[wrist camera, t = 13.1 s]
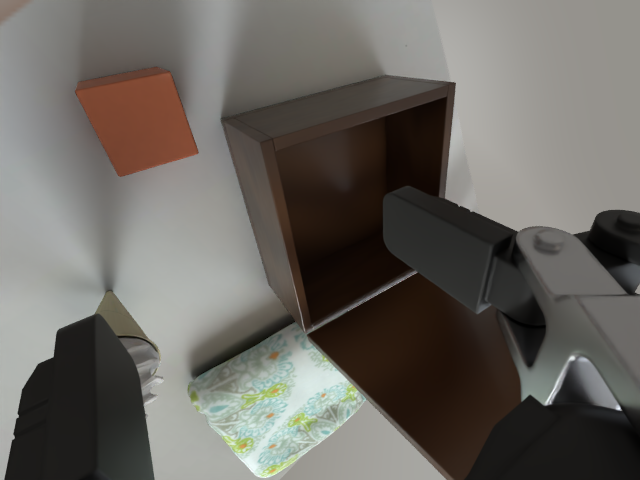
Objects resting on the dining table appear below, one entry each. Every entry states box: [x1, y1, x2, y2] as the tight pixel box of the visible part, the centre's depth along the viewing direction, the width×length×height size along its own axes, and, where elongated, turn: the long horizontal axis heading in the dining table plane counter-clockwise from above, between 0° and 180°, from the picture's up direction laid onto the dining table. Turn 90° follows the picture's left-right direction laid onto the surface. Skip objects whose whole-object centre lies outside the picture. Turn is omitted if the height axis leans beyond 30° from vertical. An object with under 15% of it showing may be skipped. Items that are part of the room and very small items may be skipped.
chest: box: [221, 75, 456, 334], centre depth 29 cm, size 17×16×8 cm
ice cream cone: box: [95, 291, 163, 418], centre depth 20 cm, size 5×5×15 cm
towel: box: [188, 311, 367, 478], centre depth 40 cm, size 18×21×5 cm
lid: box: [307, 273, 521, 480], centre depth 23 cm, size 17×16×5 cm
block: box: [75, 67, 199, 177], centre depth 20 cm, size 5×5×5 cm
